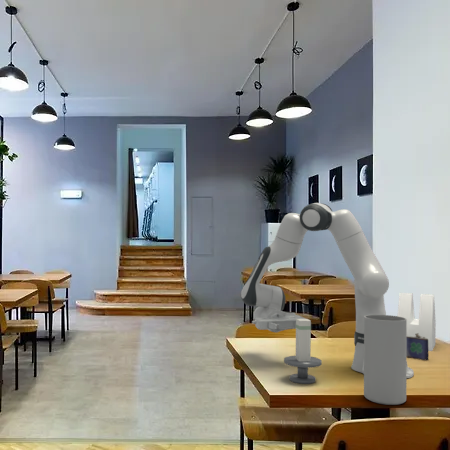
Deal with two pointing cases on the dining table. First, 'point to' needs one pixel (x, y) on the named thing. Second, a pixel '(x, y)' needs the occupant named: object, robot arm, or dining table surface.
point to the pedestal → (302, 369)
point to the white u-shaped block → (426, 317)
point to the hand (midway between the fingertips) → (288, 326)
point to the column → (303, 339)
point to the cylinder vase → (385, 359)
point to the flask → (417, 347)
